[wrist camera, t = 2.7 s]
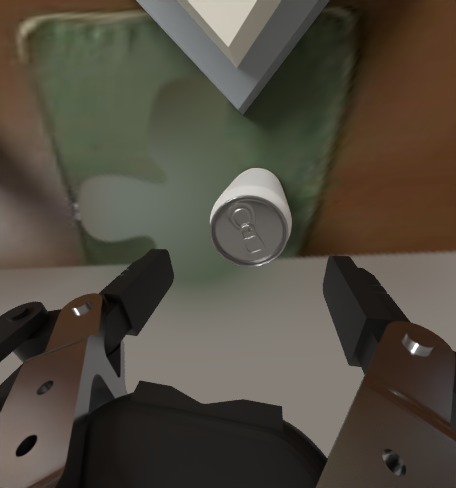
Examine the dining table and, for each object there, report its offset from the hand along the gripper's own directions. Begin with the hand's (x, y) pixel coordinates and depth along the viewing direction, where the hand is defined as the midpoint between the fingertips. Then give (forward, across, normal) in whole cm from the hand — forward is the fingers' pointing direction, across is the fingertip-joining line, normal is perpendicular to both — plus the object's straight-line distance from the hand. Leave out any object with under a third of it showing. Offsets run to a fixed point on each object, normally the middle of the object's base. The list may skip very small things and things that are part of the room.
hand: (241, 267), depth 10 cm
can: (+17, 0, 0) cm, 17 cm away
